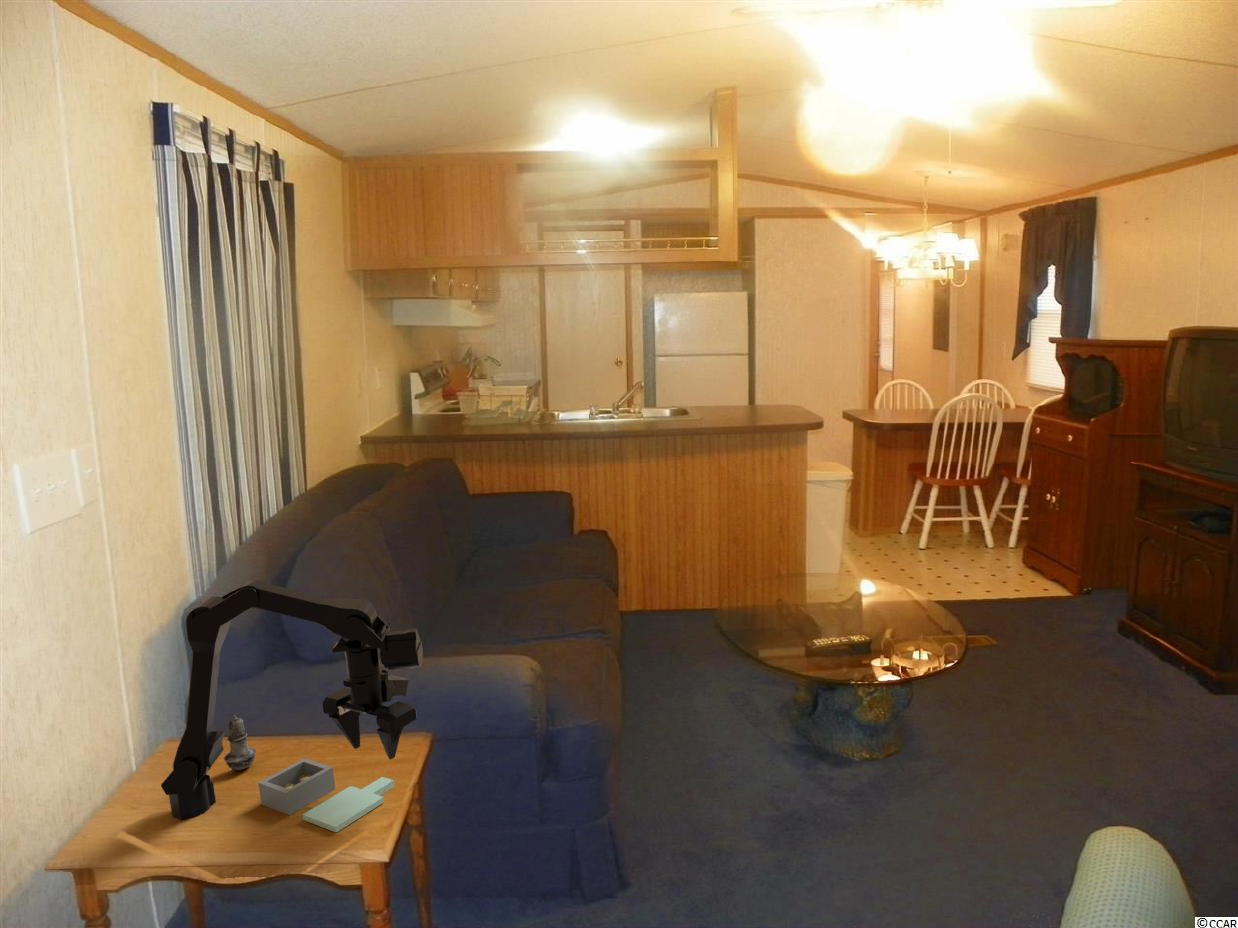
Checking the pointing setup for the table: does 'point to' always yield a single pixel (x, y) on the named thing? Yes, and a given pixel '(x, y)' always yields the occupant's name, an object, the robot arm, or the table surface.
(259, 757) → the table surface
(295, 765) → the tub
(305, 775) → the part
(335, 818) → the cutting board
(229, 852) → the table surface
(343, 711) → the robot arm
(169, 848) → the table surface
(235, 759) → the grey upright turned figure
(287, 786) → the part
